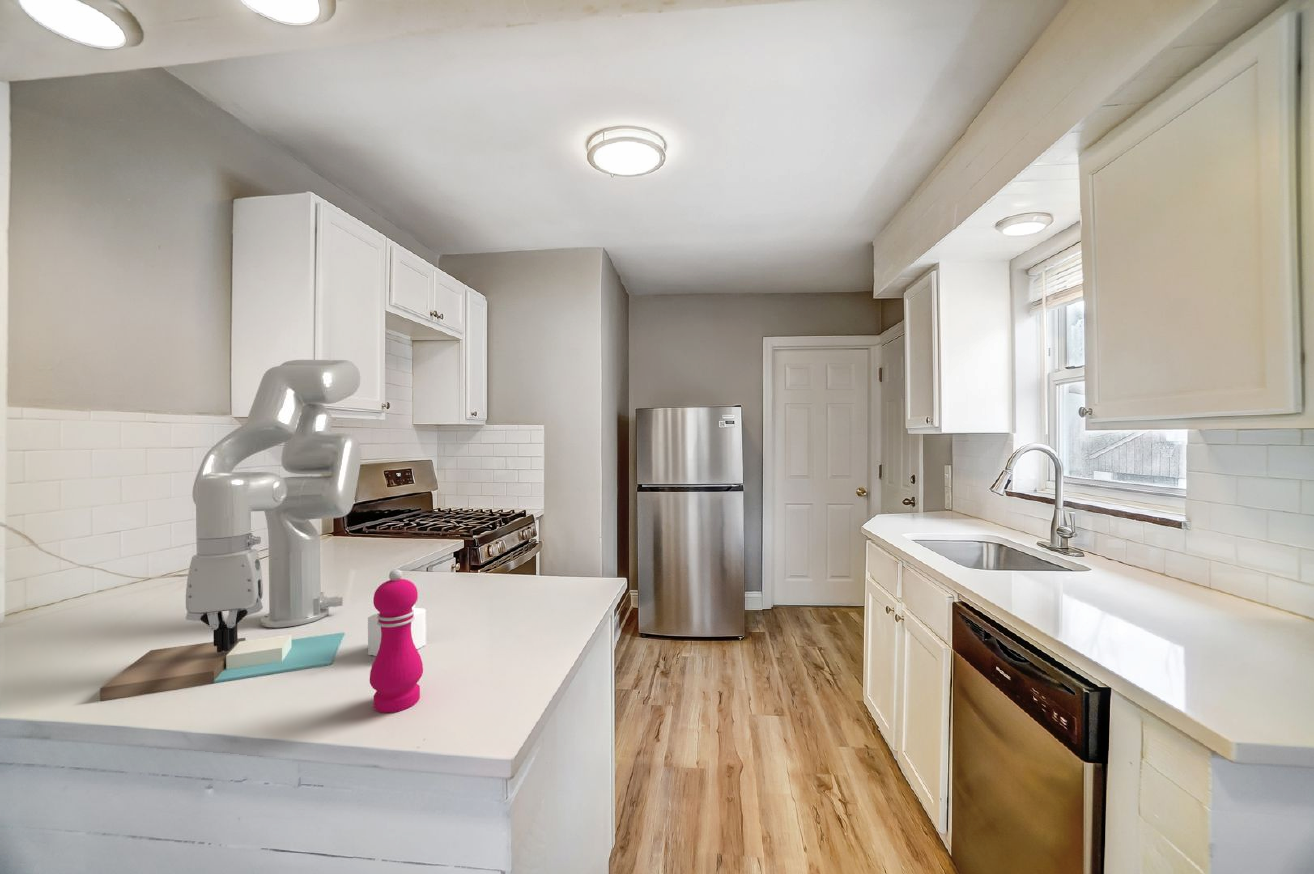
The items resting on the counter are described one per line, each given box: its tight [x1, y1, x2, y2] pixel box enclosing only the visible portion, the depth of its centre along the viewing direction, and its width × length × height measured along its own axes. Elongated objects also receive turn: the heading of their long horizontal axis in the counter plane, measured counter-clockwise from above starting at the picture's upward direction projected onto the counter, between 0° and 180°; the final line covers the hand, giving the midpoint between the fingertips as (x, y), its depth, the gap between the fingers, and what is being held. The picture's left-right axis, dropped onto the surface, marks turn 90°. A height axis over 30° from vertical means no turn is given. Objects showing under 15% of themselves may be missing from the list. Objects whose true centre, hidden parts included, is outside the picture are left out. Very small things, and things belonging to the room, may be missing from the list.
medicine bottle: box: [367, 604, 427, 657], centre depth 99 cm, size 7×7×12 cm
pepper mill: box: [369, 569, 424, 714], centre depth 79 cm, size 7×7×20 cm
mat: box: [210, 631, 345, 684], centre depth 97 cm, size 17×16×1 cm
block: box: [226, 634, 292, 670], centre depth 96 cm, size 8×7×2 cm
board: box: [99, 637, 246, 702], centre depth 91 cm, size 14×16×2 cm
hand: (225, 648), depth 94 cm, fingers closed
